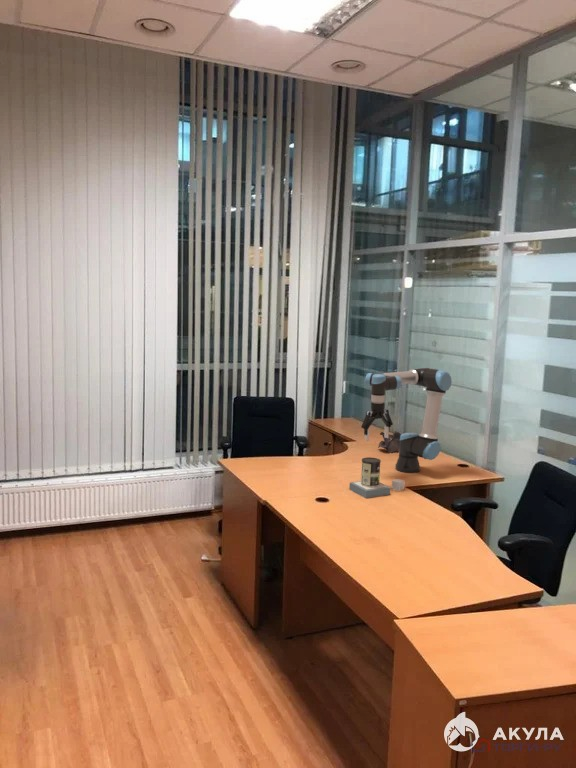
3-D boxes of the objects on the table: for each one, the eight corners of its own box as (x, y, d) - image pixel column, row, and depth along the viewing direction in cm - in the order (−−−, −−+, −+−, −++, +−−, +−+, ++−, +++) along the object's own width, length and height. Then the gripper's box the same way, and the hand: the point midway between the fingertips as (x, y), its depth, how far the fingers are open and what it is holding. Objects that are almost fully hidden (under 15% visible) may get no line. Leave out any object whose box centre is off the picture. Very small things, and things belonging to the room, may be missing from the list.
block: (396, 487, 355) (396, 478, 354) (404, 489, 352) (404, 480, 351) (391, 489, 351) (392, 480, 351) (399, 491, 348) (399, 482, 347)
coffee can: (379, 482, 348) (381, 458, 346) (378, 488, 338) (380, 463, 336) (361, 480, 350) (362, 456, 348) (359, 486, 340) (360, 461, 338)
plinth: (372, 486, 356) (373, 478, 355) (390, 494, 342) (390, 487, 341) (349, 489, 348) (349, 482, 347) (365, 498, 334) (366, 490, 334)
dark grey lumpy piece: (382, 453, 424) (409, 454, 428) (383, 432, 424) (411, 433, 428) (375, 450, 438) (402, 450, 442) (376, 429, 437) (403, 430, 441)
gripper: (391, 398, 357) (390, 435, 360) (355, 402, 345) (354, 440, 348) (399, 401, 350) (398, 438, 354) (363, 405, 338) (362, 443, 342)
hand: (376, 439), depth 351 cm, fingers open, 13 cm apart
